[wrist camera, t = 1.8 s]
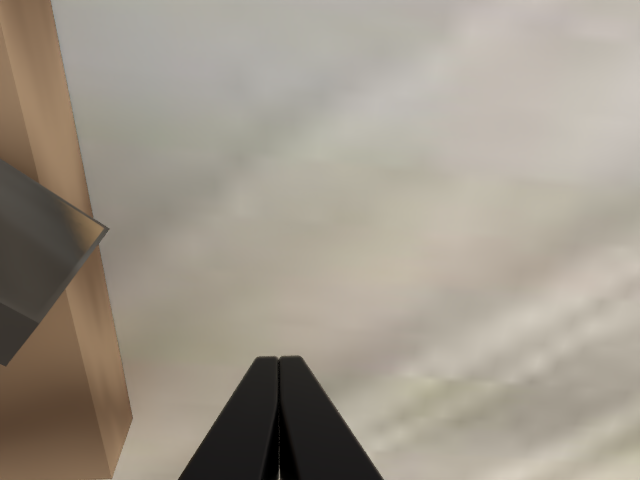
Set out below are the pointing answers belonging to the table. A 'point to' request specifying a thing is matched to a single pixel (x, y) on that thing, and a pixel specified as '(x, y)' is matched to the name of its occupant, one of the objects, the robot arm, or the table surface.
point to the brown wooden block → (79, 296)
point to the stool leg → (36, 254)
